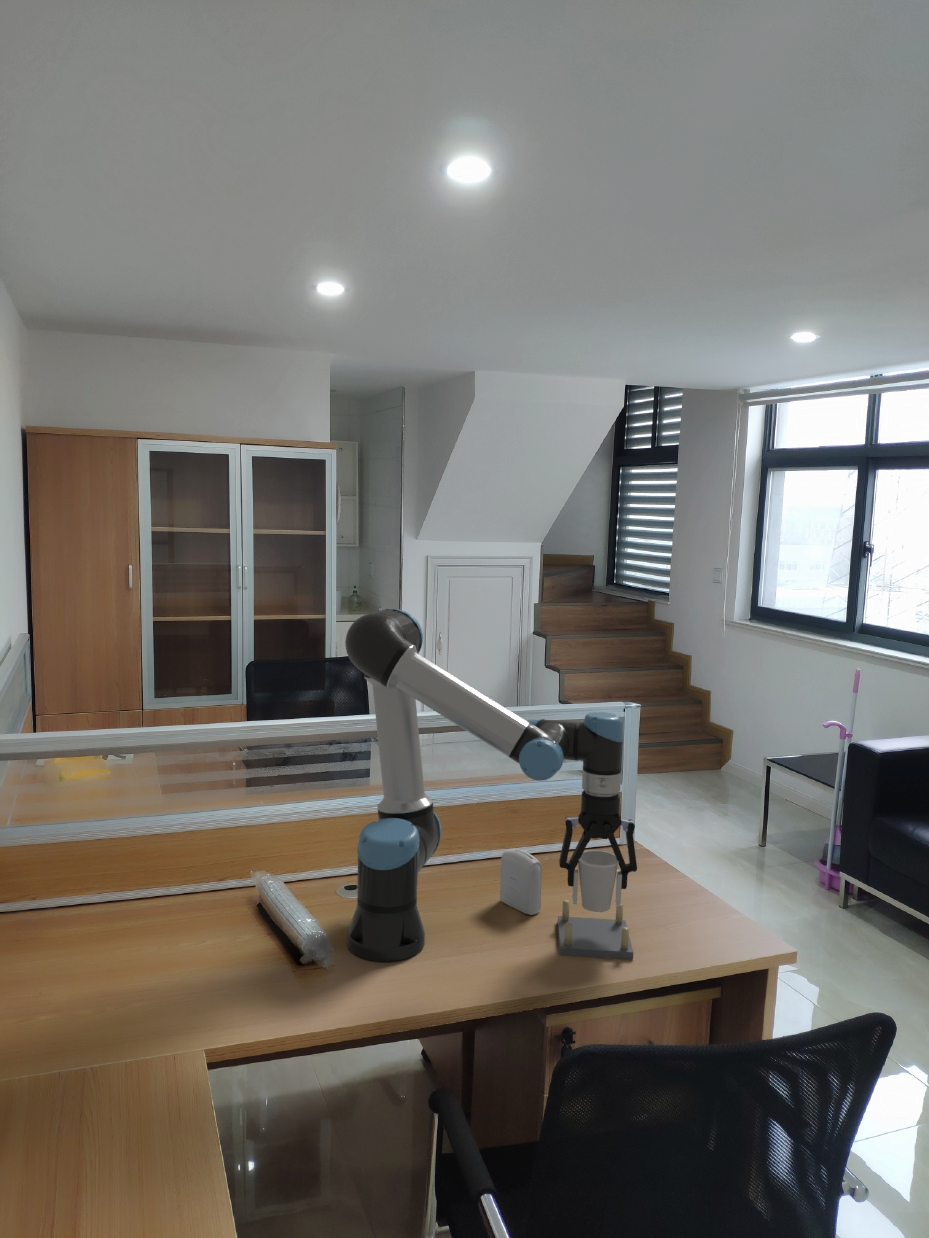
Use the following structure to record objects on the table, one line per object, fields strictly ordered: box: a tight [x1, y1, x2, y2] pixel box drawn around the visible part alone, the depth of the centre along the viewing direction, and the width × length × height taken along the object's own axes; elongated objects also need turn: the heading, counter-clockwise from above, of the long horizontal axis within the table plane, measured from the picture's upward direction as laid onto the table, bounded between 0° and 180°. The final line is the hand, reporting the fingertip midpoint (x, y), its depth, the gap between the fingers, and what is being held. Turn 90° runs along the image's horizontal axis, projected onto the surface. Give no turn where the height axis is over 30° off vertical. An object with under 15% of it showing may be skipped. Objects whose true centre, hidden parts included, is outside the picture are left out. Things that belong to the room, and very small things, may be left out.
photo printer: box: [499, 848, 543, 916], centre depth 191 cm, size 10×4×12 cm, turn 39°
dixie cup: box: [578, 849, 619, 913], centre depth 175 cm, size 8×8×10 cm
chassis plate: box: [557, 899, 634, 961], centre depth 177 cm, size 14×14×6 cm
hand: (596, 902), depth 176 cm, fingers closed on dixie cup, 8 cm apart
